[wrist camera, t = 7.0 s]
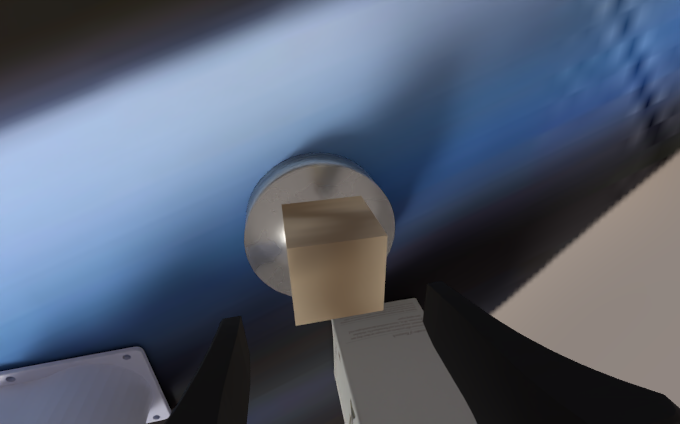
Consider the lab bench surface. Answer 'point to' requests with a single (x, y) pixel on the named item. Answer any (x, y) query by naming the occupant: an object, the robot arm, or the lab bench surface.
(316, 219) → the beech block
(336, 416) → the lab bench surface
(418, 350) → the supplement box
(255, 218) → the steel tin
